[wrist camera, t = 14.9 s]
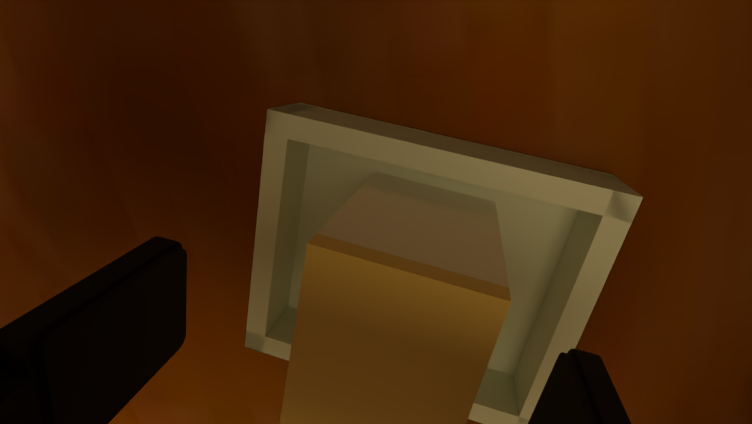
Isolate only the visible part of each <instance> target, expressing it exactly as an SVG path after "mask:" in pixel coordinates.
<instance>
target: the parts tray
mask: <svg viewBox="0 0 752 424" xmlns="http://www.w3.org/2000/svg"><path fill="white" fill-rule="evenodd" d="M376 171H377V172H381V173H384V174H388V175H392V176H396V177H400V178H404V179H408V180H412V181H416V182H420V183H424V184H428V185H432V186H435V187H439V188H443V189H447V190H451V191H455V192H459V193H463V194H467V195H471V196H475V197H479V198H482V199H486V200H490V201H494V202H495V204H496V210H497V216H498V222H499V228H500V234H501V241H502V247H503V253H504V259H505V265H506V272H507V278H508V284H509V290H510V296H511V304H510V307H509V309H508V312H507V315H506V317H505V320H504V323H503V326H502V328H501V331H500V334H499V336H498V339H497V342H496V344H495V347H494V350H493V352H492V355H491V358H490V361H489V363H488V366H487V369H486V371H485V374H484V377H483V379H482V382H481V385H480V387H479V390H478V393H477V396H476V398H475V401H474V404H473V406H472V409H471V412H470V414H469V417H468V419H470V420H473V421H477V422H480V423H483V424H528V422H529V420H530V418H531V415H532V413H533V411H534V409H535V406H536V404H537V402H538V400H539V398H540V395H541V393H542V391H543V389H544V387H545V384H546V382H547V380H548V378H549V375H550V373H551V371H552V369H553V367H554V364H555V362H556V360H557V358H558V356H559V354H560V353H562V352H564V353H568V351H569V350H570V349H573V348H574V349H575V348H576V346H577V343H578V341H579V339H580V337H581V334H582V332H583V330H584V328H585V326H586V323H587V321H588V319H589V317H590V314H591V312H592V310H593V308H594V306H595V303H596V301H597V299H598V297H599V294H600V292H601V290H602V288H603V286H604V283H605V281H606V279H607V277H608V274H609V272H610V270H611V268H612V265H613V263H614V261H615V259H616V257H617V254H618V252H619V250H620V248H621V245H622V243H623V241H624V239H625V237H626V234H627V232H628V230H629V228H630V225H631V223H632V221H633V219H634V216H635V214H636V212H637V210H638V208H639V205H640V203H641V201H642V199H643V197H642V196H641V195H639V194H638V193H637V192H635V191H634V190H633V189H631V188H630V187H629V186H627V185H626V184H625V183H623V182H622V181H621V180H620V179H618V178H617V177H616V176H614V175H613V174H609V173H604V172H600V171H596V170H591V169H587V168H583V167H578V166H574V165H570V164H565V163H561V162H557V161H552V160H548V159H544V158H539V157H535V156H531V155H526V154H522V153H518V152H513V151H509V150H505V149H500V148H496V147H491V146H487V145H483V144H478V143H474V142H470V141H465V140H461V139H457V138H452V137H448V136H444V135H439V134H435V133H431V132H426V131H422V130H418V129H413V128H409V127H405V126H400V125H396V124H391V123H387V122H383V121H378V120H374V119H370V118H365V117H361V116H357V115H352V114H348V113H344V112H339V111H335V110H331V109H326V108H322V107H318V106H313V105H309V104H305V103H296V104H291V105H285V106H280V107H275V108H270V109H267V117H266V128H265V138H264V149H263V160H262V170H261V181H260V191H259V202H258V212H257V223H256V233H255V244H254V255H253V265H252V276H251V286H250V297H249V307H248V318H247V329H246V339H245V347H247V348H250V349H254V350H257V351H260V352H263V353H266V354H269V355H272V356H275V357H278V358H281V359H284V360H288V361H289V358H290V351H291V345H292V338H293V332H294V325H295V319H296V312H297V306H298V299H299V293H300V286H301V280H302V273H303V266H304V260H305V253H306V247H307V243H308V242H309V241H310V240H311V239H312V238H313V236H314V235H315V234H316V233H317V232H318V231H319V230H320V229H321V228H322V227H323V226H324V225H325V224H326V223H327V222H328V221H329V220H330V219H331V218H332V217H333V216H334V215H335V213H336V212H337V211H338V210H339V209H340V208H341V207H342V206H343V205H344V204H345V203H346V202H347V201H348V200H349V199H350V198H351V197H352V196H353V195H354V194H355V193H356V191H357V190H358V189H359V188H360V187H361V186H362V185H363V184H364V183H365V182H366V181H367V180H368V179H369V178H370V177H371V176H372V175H373V174H374V173H375V172H376Z"/></svg>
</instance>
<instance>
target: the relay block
mask: <svg viewBox="0 0 752 424" xmlns="http://www.w3.org/2000/svg"><path fill="white" fill-rule="evenodd" d="M510 304H511V296H510V290H509V284H508V278H507V272H506V265H505V259H504V253H503V247H502V241H501V234H500V228H499V222H498V216H497V210H496V204H495V202H494V201H490V200H486V199H482V198H479V197H475V196H471V195H467V194H463V193H459V192H455V191H451V190H447V189H443V188H439V187H435V186H432V185H428V184H424V183H420V182H416V181H412V180H408V179H404V178H400V177H396V176H392V175H388V174H384V173H381V172H377V171H376V172H375V173H374V174H373V175H372V176H371V177H370V178H369V179H368V180H367V181H366V182H365V183H364V184H363V185H362V186H361V187H360V188H359V189H358V190H357V191H356V193H355V194H354V195H353V196H352V197H351V198H350V199H349V200H348V201H347V202H346V203H345V204H344V205H343V206H342V207H341V208H340V209H339V210H338V211H337V212H336V213H335V215H334V216H333V217H332V218H331V219H330V220H329V221H328V222H327V223H326V224H325V225H324V226H323V227H322V228H321V229H320V230H319V231H318V232H317V233H316V234H315V235H314V236H313V238H312V239H311V240H310V241H309V242H308V243H307V247H306V253H305V260H304V266H303V273H302V280H301V286H300V293H299V299H298V306H297V312H296V319H295V325H294V332H293V338H292V345H291V351H290V358H289V365H288V371H287V378H286V384H285V391H284V397H283V404H282V410H281V417H280V423H279V424H466V422H467V420H468V417H469V414H470V412H471V409H472V406H473V404H474V401H475V398H476V396H477V393H478V390H479V387H480V385H481V382H482V379H483V377H484V374H485V371H486V369H487V366H488V363H489V361H490V358H491V355H492V352H493V350H494V347H495V344H496V342H497V339H498V336H499V334H500V331H501V328H502V326H503V323H504V320H505V317H506V315H507V312H508V309H509V307H510Z"/></svg>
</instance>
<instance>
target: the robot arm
mask: <svg viewBox="0 0 752 424" xmlns="http://www.w3.org/2000/svg"><path fill="white" fill-rule="evenodd" d="M186 280H187V253H186V251H185V250H184V249H182V246H181V244H180V243H179V242H177V241H173V240H170V239H166V238H162V237H153V238H151V239H150V240H148V241H146V242H145V243H143V244H141V245H140V246H138V247H136V248H135V249H133V250H131V251H130V252H128V253H126V254H125V255H123V256H121V257H120V258H118V259H116V260H115V261H113V262H111V263H110V264H108V265H106V266H105V267H103V268H101V269H100V270H98V271H96V272H95V273H93V274H91V275H90V276H88V277H86V278H85V279H83V280H81V281H79V282H78V283H76V284H74V285H73V286H71V287H69V288H68V289H66V290H64V291H63V292H61V293H59V294H58V295H56V296H54V297H53V298H51V299H49V300H48V301H46V302H44V303H43V304H41V305H39V306H38V307H36V308H34V309H33V310H31V311H29V312H28V313H26V314H24V315H23V316H21V317H19V318H18V319H16V320H14V321H13V322H11V323H9V324H8V325H6V326H4V327H3V328H1V329H0V424H108V423H109V422H110V421H111V420H112V419H113V418H114V417H115V416H116V415H117V414H118V412H119V411H120V410H121V409H122V408H123V407H124V406H125V405H126V404H127V403H128V402H129V401H130V400H131V399H132V398H133V397H134V396H135V395H136V394H137V393H138V391H139V390H140V389H141V388H142V387H143V386H144V385H145V384H146V383H147V382H148V381H149V380H150V379H151V378H152V377H153V376H154V375H155V374H156V373H157V372H158V371H159V369H160V368H161V367H162V366H163V365H164V364H165V363H166V362H167V361H168V360H169V359H170V358H171V357H172V356H173V355H174V354H175V353H176V352H177V351H178V350H179V348H180V347H181V346H182V344H183V342H184V340H185V336H186ZM528 424H631V422H630V420H629V418H628V416H627V414H626V411H625V409H624V407H623V405H622V403H621V400H620V398H619V396H618V394H617V392H616V390H615V387H614V385H613V383H612V381H611V379H610V376H609V374H608V372H607V370H606V368H605V366H604V363H603V361H602V359H601V358H600V356H598V355H596V354H592V353H588V352H585V351H581V350H577V349H574V348H573V349H570V350H569V351H568V353H564V352H562V353H560V354H559V356H558V358H557V360H556V362H555V364H554V367H553V369H552V371H551V373H550V375H549V378H548V380H547V382H546V384H545V387H544V389H543V391H542V393H541V395H540V398H539V400H538V402H537V404H536V406H535V409H534V411H533V413H532V415H531V418H530V420H529V422H528Z"/></svg>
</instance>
